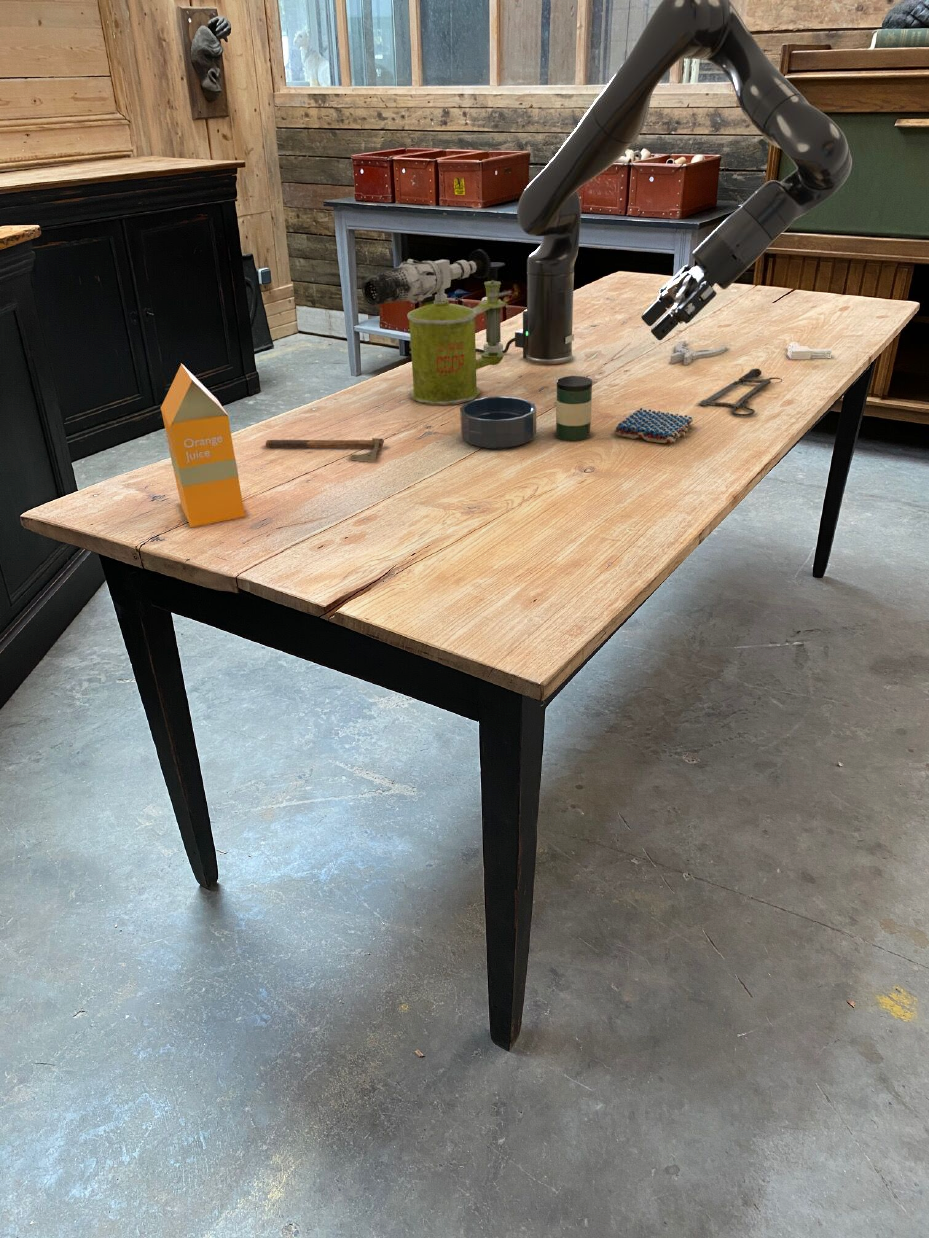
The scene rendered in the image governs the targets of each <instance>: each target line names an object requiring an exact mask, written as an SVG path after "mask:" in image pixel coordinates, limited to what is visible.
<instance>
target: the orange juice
mask: <svg viewBox="0 0 929 1238" xmlns="http://www.w3.org/2000/svg"><path fill="white" fill-rule="evenodd" d="M160 411H161V415H162V416H161V417H162V420H163V426H164V430H165V434H166V440H167V444H168V445H167V446H168V451H169V455H170V461H171V465H172V469H173V473H174V478H175V483H176V489H177V493H178V496H179V502H180V506H181V508H182V511H183V513H184V515H185V517H186V520H187V522H188V524H189V527H190V528H194V527H195V528H196V527H201V526H204V525H210V524H215V523H220V522H226V521H229V520H230V521H231V520H234V519H235V520H236V519H239V518H246V514H245V508H244V502H243V497H242V491H241V484H240V478H239V477H240V476H239V472H238V465H237V459H236V455H235V450H234V444H233V438H232V432H231V425H230V419H229V414H228V413H227V411H226V409H225V408H224V407H223V406H222V404H221V403H220V401H219V400H218V398H217V397H216V396H214V395H213V393H211V392H210V390H208V388H207V387H206V386H204V385H203V383H202V382H201V381H200V380H199V379H198V378H197V377H196V376H195V375H194V374H193V373H191V371H190V370H189V369H187V367H186V366H185V365H184V364H182V363H180V366H179V368H178V370H177V372H176V374H175V377H174V379H173V380H172V383H171V385H170V387H169V389H168V392H167V394H166V396H165V397H164V400H163V402H162V404H161V406H160Z"/></svg>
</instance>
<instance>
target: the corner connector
mask: <svg viewBox="0 0 929 1238" xmlns="http://www.w3.org/2000/svg"><path fill="white" fill-rule="evenodd" d="M788 344H789V345H788V346H787V348H786V350H787V352H786V354H787V356H788V357H789V359H790V360H811V359H832V356H831V355H832V349H831V348H809V346H807V345H800V344H799V343H798V342H797V341H790V342H789V343H788Z"/></svg>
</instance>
